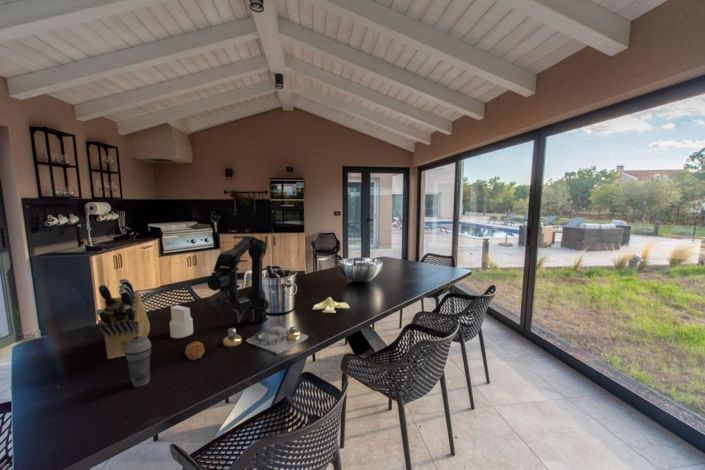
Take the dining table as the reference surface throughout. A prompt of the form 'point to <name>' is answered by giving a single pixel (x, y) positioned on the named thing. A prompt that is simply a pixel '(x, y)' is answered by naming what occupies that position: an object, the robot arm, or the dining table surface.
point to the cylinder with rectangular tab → (180, 322)
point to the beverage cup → (139, 359)
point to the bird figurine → (330, 305)
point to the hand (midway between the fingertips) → (231, 320)
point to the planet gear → (232, 338)
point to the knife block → (121, 318)
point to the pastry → (194, 350)
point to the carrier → (277, 339)
